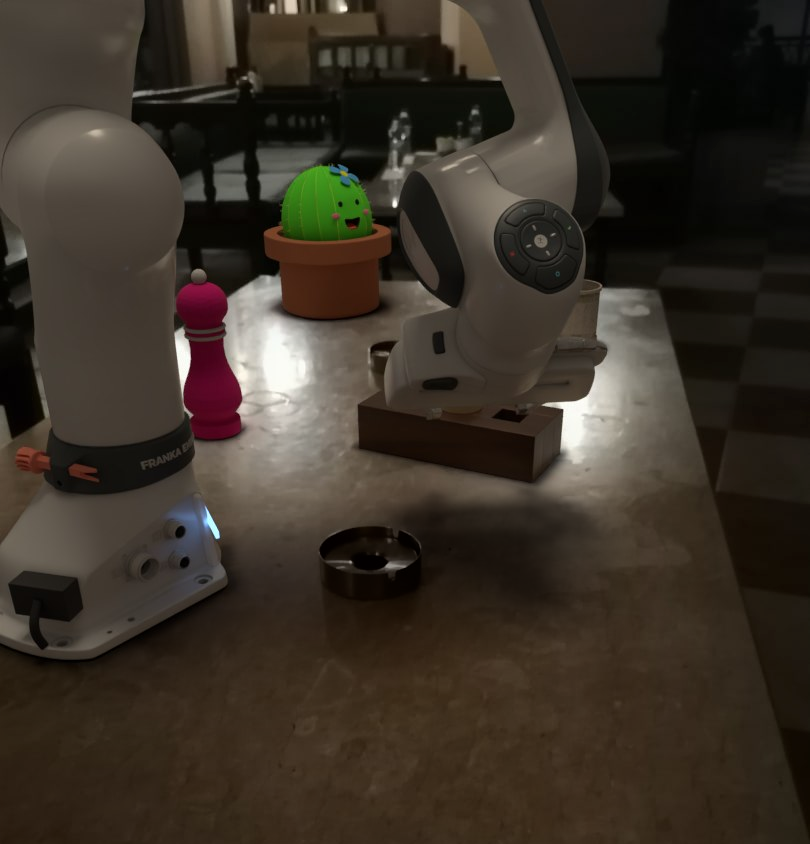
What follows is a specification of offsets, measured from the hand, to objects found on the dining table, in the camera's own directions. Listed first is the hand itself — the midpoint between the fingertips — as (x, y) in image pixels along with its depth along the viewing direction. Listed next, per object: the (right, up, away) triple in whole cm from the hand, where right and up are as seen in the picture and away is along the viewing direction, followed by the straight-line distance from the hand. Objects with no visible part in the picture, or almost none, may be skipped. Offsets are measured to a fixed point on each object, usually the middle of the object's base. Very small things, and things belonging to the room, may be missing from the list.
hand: (477, 410), depth 95 cm
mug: (+17, +18, +52) cm, 58 cm away
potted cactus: (-21, +29, +73) cm, 81 cm away
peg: (-1, -1, +13) cm, 13 cm away
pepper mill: (-31, 0, +20) cm, 37 cm away
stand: (-1, -3, +14) cm, 14 cm away
